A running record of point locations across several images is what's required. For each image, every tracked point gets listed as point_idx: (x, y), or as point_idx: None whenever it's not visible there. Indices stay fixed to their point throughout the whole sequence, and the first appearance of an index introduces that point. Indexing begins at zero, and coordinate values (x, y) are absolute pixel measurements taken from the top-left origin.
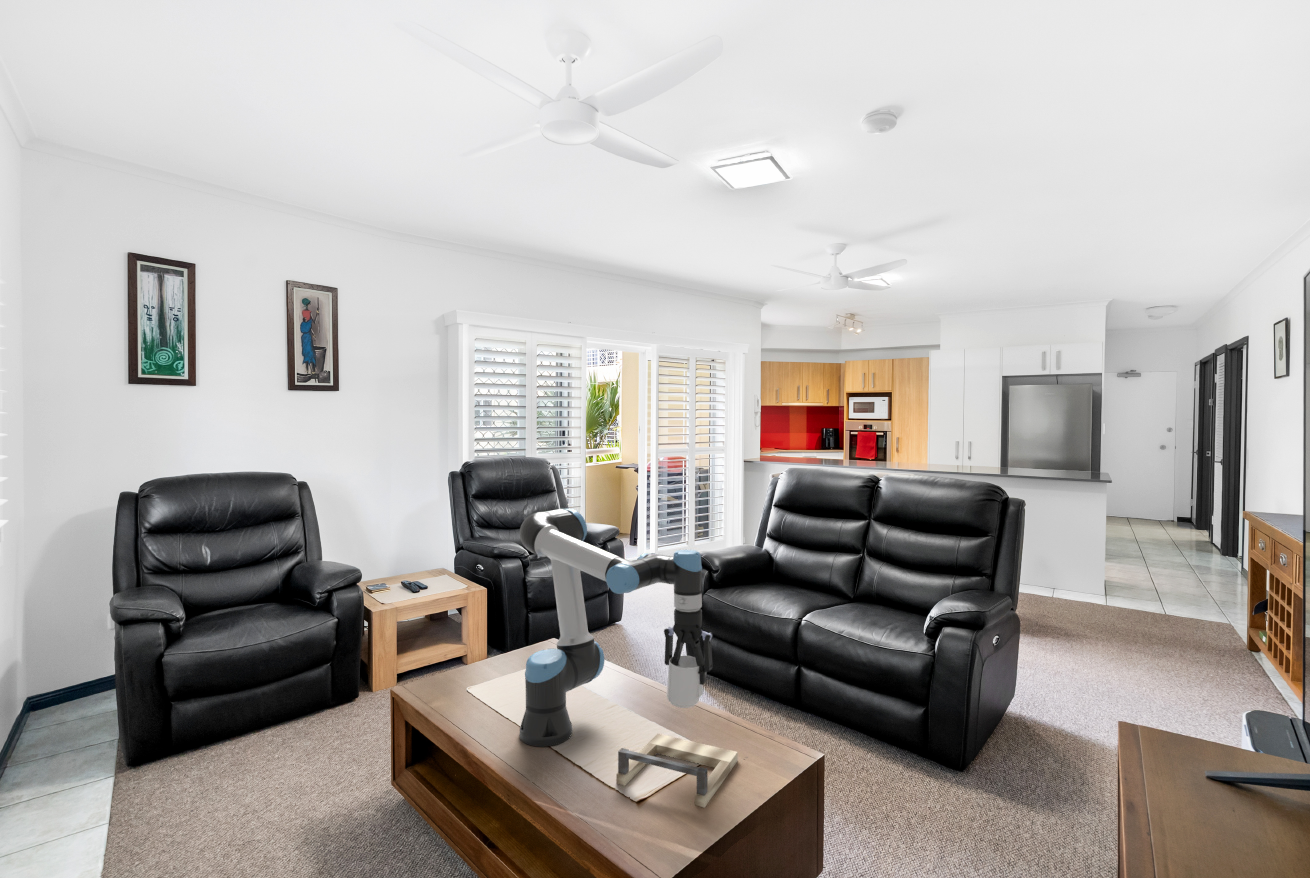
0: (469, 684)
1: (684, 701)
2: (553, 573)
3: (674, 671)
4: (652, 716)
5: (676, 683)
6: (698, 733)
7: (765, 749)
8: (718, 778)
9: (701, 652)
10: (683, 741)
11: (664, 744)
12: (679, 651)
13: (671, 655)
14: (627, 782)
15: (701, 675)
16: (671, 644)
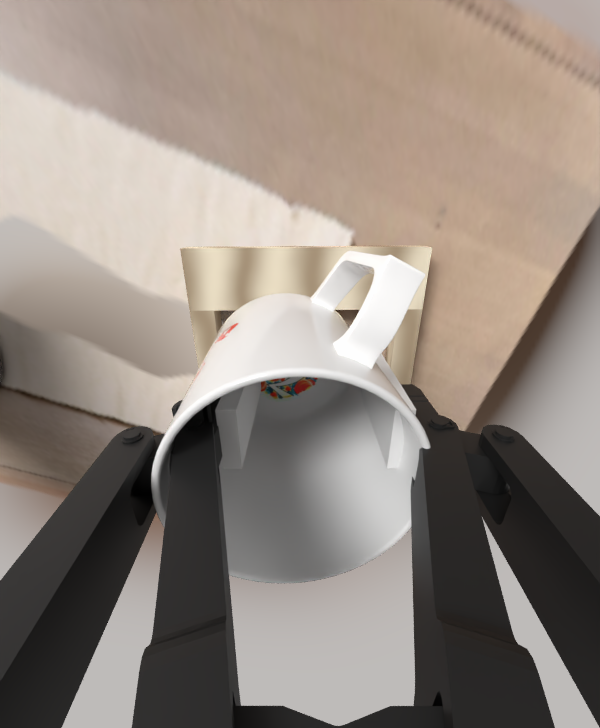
0: None
1: (320, 426)
2: None
3: (265, 543)
4: (58, 65)
5: (284, 489)
6: (266, 125)
7: (493, 132)
8: (410, 383)
9: (484, 548)
10: (270, 260)
11: (232, 300)
12: (229, 590)
13: (130, 482)
14: None
15: None
16: (67, 627)
